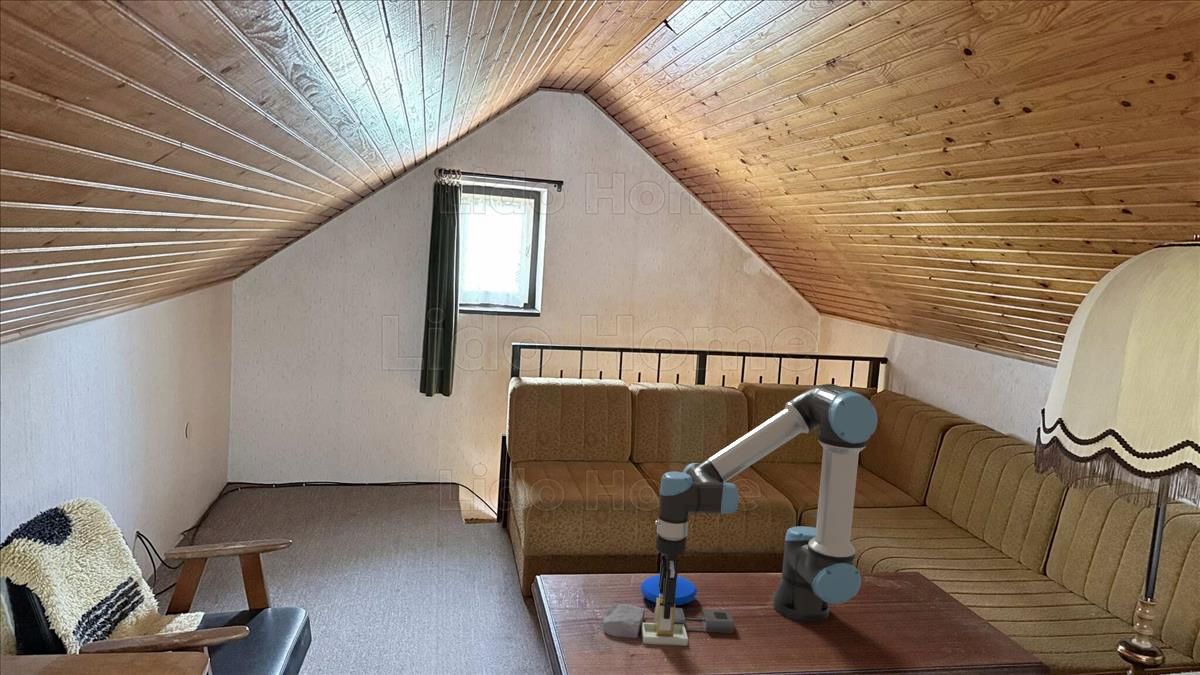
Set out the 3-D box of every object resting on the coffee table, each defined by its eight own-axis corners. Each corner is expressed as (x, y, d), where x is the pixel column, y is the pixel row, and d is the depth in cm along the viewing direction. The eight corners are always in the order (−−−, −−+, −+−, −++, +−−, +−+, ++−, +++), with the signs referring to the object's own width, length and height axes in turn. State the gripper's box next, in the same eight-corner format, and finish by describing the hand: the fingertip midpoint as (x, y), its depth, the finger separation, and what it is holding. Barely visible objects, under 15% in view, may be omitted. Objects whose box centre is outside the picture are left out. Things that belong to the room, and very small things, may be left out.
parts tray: (683, 631, 186) (683, 624, 185) (687, 645, 179) (687, 638, 178) (640, 629, 185) (641, 622, 185) (643, 643, 178) (643, 636, 178)
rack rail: (728, 621, 192) (729, 610, 192) (733, 633, 186) (734, 621, 186) (653, 617, 191) (654, 606, 191) (656, 629, 186) (657, 618, 185)
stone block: (601, 641, 182) (640, 640, 180) (599, 622, 182) (638, 621, 180) (610, 620, 193) (647, 619, 191) (608, 603, 193) (644, 601, 191)
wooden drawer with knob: (670, 631, 184) (673, 598, 183) (672, 640, 180) (675, 606, 179) (654, 631, 184) (656, 597, 183) (655, 639, 180) (658, 605, 179)
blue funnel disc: (635, 587, 209) (636, 563, 209) (688, 585, 211) (689, 562, 211) (646, 613, 194) (647, 588, 193) (703, 611, 196) (704, 586, 195)
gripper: (653, 521, 187) (645, 606, 190) (660, 548, 170) (652, 641, 173) (681, 522, 188) (674, 608, 190) (691, 549, 170) (683, 643, 173)
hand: (663, 624), depth 181 cm, fingers closed on wooden drawer with knob, 4 cm apart
